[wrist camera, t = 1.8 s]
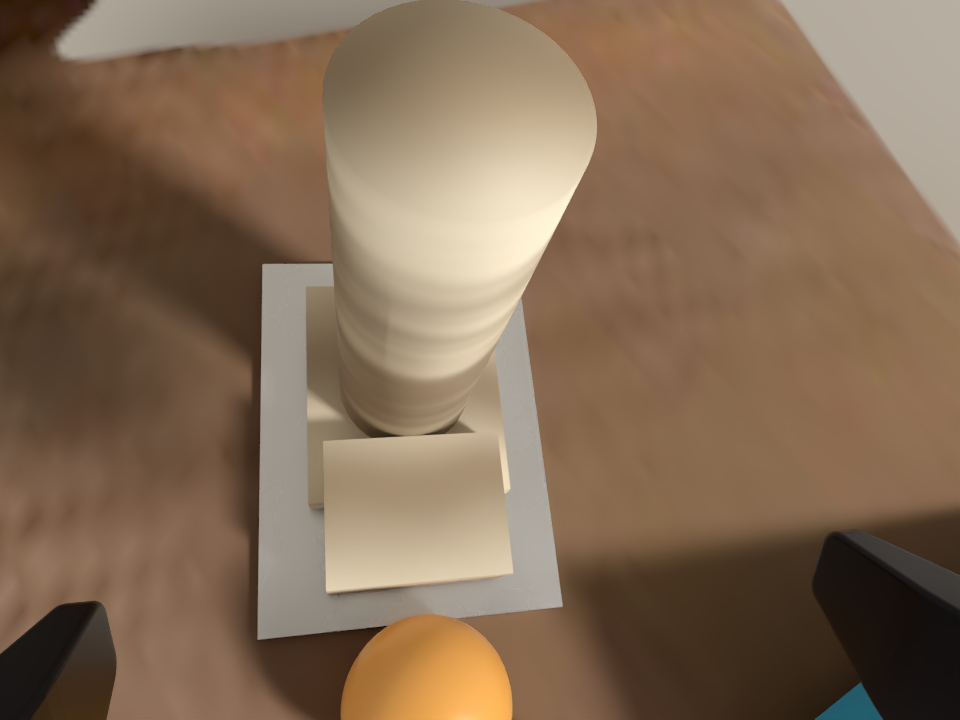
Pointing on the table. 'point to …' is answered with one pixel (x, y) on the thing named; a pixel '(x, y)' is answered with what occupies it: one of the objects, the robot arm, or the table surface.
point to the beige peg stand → (430, 281)
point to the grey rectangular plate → (300, 530)
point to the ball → (427, 674)
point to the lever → (852, 707)
